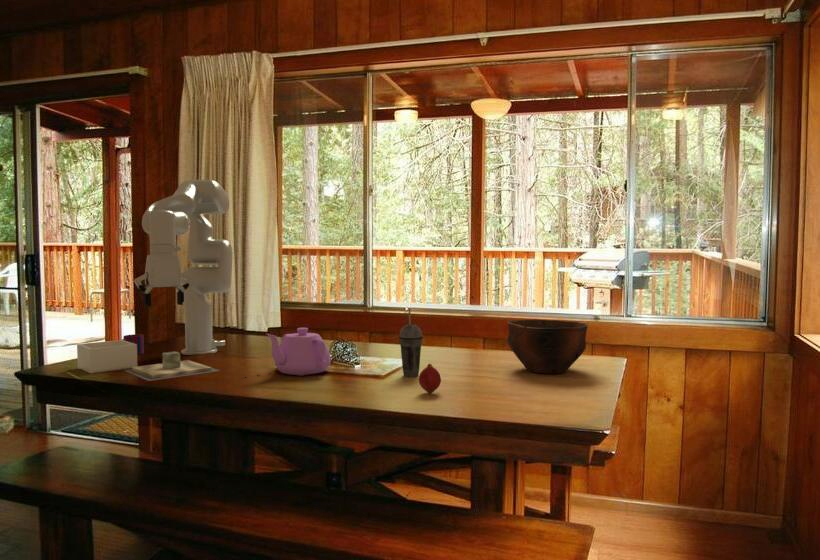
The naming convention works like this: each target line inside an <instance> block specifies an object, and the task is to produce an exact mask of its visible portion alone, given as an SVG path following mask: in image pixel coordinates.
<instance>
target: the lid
mask: <svg viewBox="0 0 820 560" xmlns="http://www.w3.org/2000/svg"><path fill="white" fill-rule="evenodd" d="M212 368H213V367H211V366H208V365H205V364H202V363H198V362H195V361H192V360H189V359H185V360H181V353H180V352H178V351H168V352H162V363H155V364H145V365H137V367H132V368H131V369H132V370H133V371H135V372H137V373H140V374H142V375H145V376H147V377H150V378H152V379H156V378H163V377H170V376H178V375H185V374H192V373H199V372H206V371H212Z"/></svg>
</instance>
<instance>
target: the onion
mask: <svg viewBox="0 0 820 560" xmlns="http://www.w3.org/2000/svg"><path fill="white" fill-rule="evenodd" d="M418 383H419V386H420V387H421V389H423V390H424V391H425V392H426V393H427V394H433V393H434V392H435V391H436V390H437V389H438V388H439V387H440V385H441V383H442V378H441V374H440V372H439V371H438V369H436V367H434V366H433V364H432V363H428V364H427V366H426V367H425V368H423V369H422V371H421V372H419V376H418Z"/></svg>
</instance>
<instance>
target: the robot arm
mask: <svg viewBox="0 0 820 560" xmlns="http://www.w3.org/2000/svg"><path fill="white" fill-rule="evenodd" d="M229 209H230V199H229V195H228V194H227V192H226V191H225V189H224V188H223V187H222V185H220V183H219V182H218V181H216V180H214V179H187V180H184V181H182V182H181V183H180V184H179V186H178V187H177V188H176V190H175V192H174V193H173V195H169V196H168V197H165V198H163V199H160V200H158V201H155V202H154V203H152V204H150V205H149V206H148V207H147V208H146V210H145V212H143V213H144V214H143V216H142V219H141V226H142V230H143V231H144V232H145V233H146V234H148V235H149V254H147V255H146V259H145V261H146V262H145V271H144V274H142V275H140V276H138V277H137V278H135V279H134V280H133V282H134V284H135V285H136V287H137V289H139V290H140V291H141V292H142V293H143V303H144V305H145V307H147V308H151V307H152V294H151V291H152V290H153V288H166V287H169V288H172V287H175V288H176V289H177V292H176V302H177V303H176V304H177V305H179V306H183V305H184V330H185V331H184V332H185V336H184V337H185V348H183V349H181V353H180V354H181V355H183V356H184V355H185V356H195V355H196V356H197V355H204V354H215V353H217V352H218V348H217V347H221V346H225V345H226V340H225V339H223V340H216V339H214V337H213V307H212V305H213V304H212V303H211V301H210V299H209V298H208V297H207V295H206V294H219V293H220V294H221V293H222V294H223V293H227V292H228V291H229V290H230V289H231V283H232V270H233V247H232V244H231V242H230V241H229V240H227V239H222V238H221V239H219V238H218V239H216V238H214V226H213V225H212V223H211V221H210V220H209V219H208V218H206V217H205V215H224V214H226V213H227V212H228V211H229ZM188 231H189V233H188V234H189V237H188V245H187V247H188V248H187V259H188V262H190V263H191V264H193V265H199V266H194V267H193V266H192V267H187V268H186V269H184V270H183V271H182V267H181V262H180V257H179V254H177V253H178V252H180V251H181V246H178V245H177V237H176V236H179V235H184V234H186V233H187V232H188ZM200 265H202V266H200ZM143 281H144V285H145V286H143V284H142V282H143Z"/></svg>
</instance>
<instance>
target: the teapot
mask: <svg viewBox="0 0 820 560" xmlns="http://www.w3.org/2000/svg"><path fill="white" fill-rule="evenodd" d="M296 331H297V332H295V333H286V334H283V336H282V337H281V341H280V342H281V343H280V344H279V338H278V337H277V335H274V334H270V333H266V335H267V336H268V337H269V338H270V341H271V358H272V359H273V361H274V365H275V367H276V368H277V370H278V371H279V372H280V373H282V374H283V375H284V374H286V375H296V376H300V377H305V376H306V375H315V374H319V373H323V372H325V371H327V369H328V367H330V365H331V363H332V358H331V357H332V356H331V354H330V351H329V348H328V346H327V344H326V342H325V341H324V340H323V338H322V337H321V335H320V334H319V333H313V332H308V331H309V328H308V327H298V328H297V329H296Z"/></svg>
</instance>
